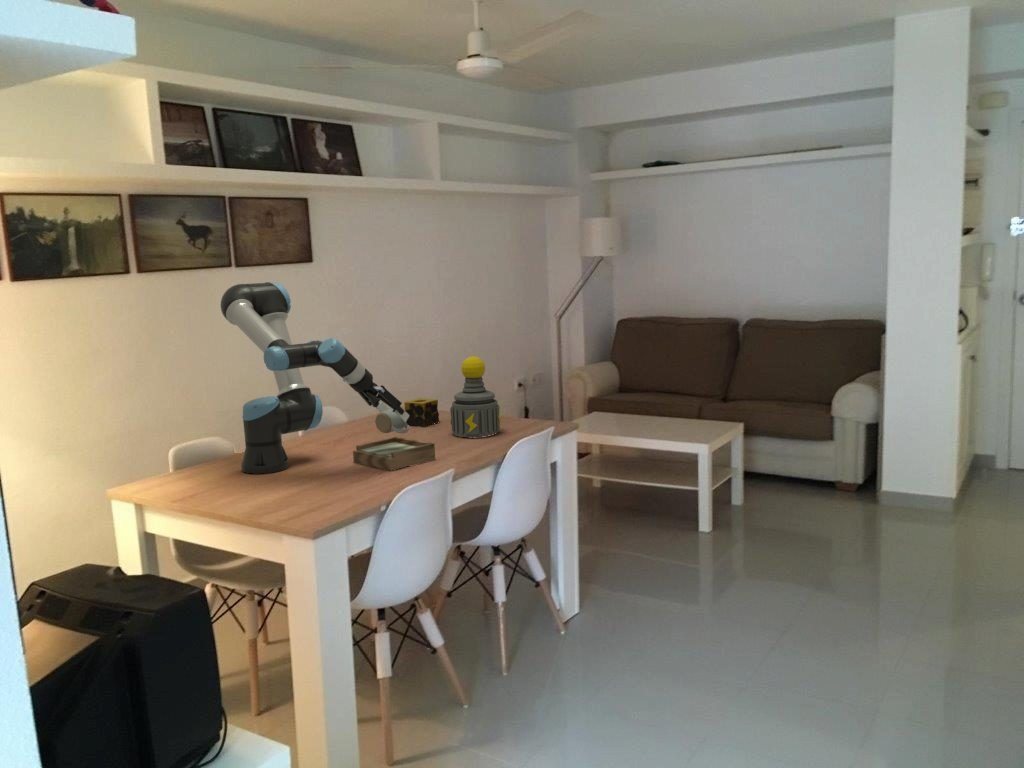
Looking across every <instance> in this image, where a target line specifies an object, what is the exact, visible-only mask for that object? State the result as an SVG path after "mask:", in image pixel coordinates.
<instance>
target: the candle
mask: <svg viewBox="0 0 1024 768" xmlns="http://www.w3.org/2000/svg"><path fill="white" fill-rule="evenodd" d="M438 399H439V398H438ZM438 399H435V398H434V399H433V398H415V399H411V400H407V401H405V402H404V410H405V411H406V412H407V413H408V414H409V415H410V416H409V417H408V419H407V421H406V423H407V425H410V426H409V427H417V426H421V427H420V428H427V427H430V426H429V425H431V426H433V425H435V424H434V423H437V424H439V423H440V413H439V409H438V405H439V403H438V402H439V401H438ZM438 422H439V423H438ZM432 424H433V425H432ZM426 426H427V427H426Z"/></svg>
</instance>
